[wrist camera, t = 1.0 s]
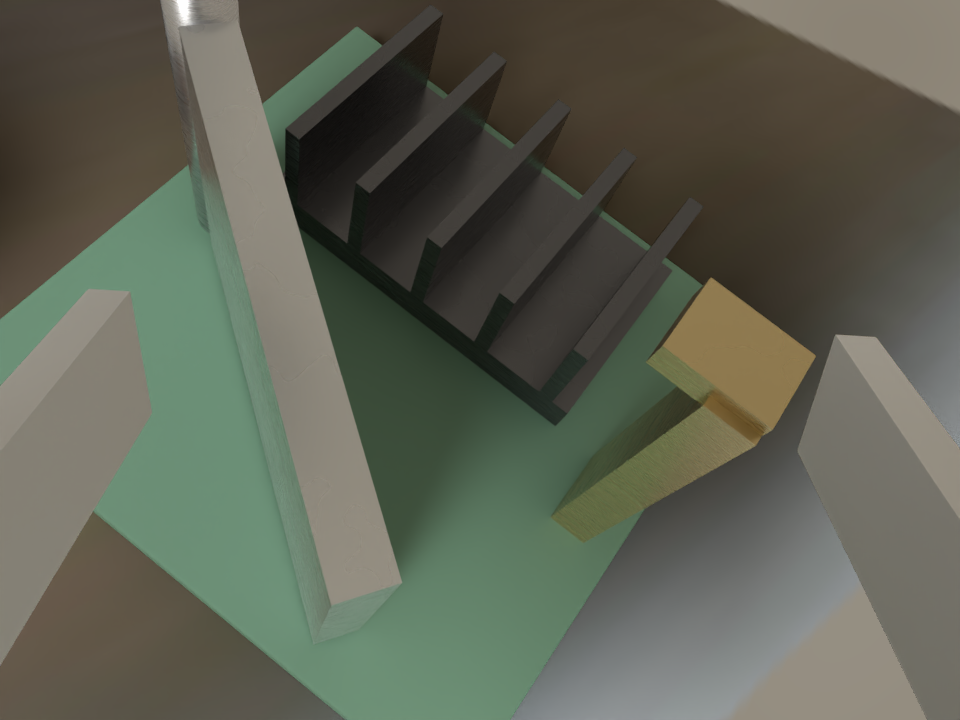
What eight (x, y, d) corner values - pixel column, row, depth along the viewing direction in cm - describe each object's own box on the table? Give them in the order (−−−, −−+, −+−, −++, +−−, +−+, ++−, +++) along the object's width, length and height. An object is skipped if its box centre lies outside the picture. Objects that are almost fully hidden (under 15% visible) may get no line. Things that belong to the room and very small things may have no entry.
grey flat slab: (211, 242, 31) (178, 26, 21) (251, 236, 32) (237, 20, 22) (313, 644, 27) (331, 605, 17) (358, 629, 27) (402, 582, 17)
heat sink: (176, 223, 32) (115, -57, 20) (361, 64, 36) (398, -236, 25) (583, 543, 30) (767, 439, 19) (721, 335, 35) (936, 150, 24)
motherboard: (-53, 391, 29) (-69, 376, 28) (354, 50, 39) (356, 26, 37) (445, 802, 28) (454, 807, 26) (742, 342, 37) (760, 328, 36)
